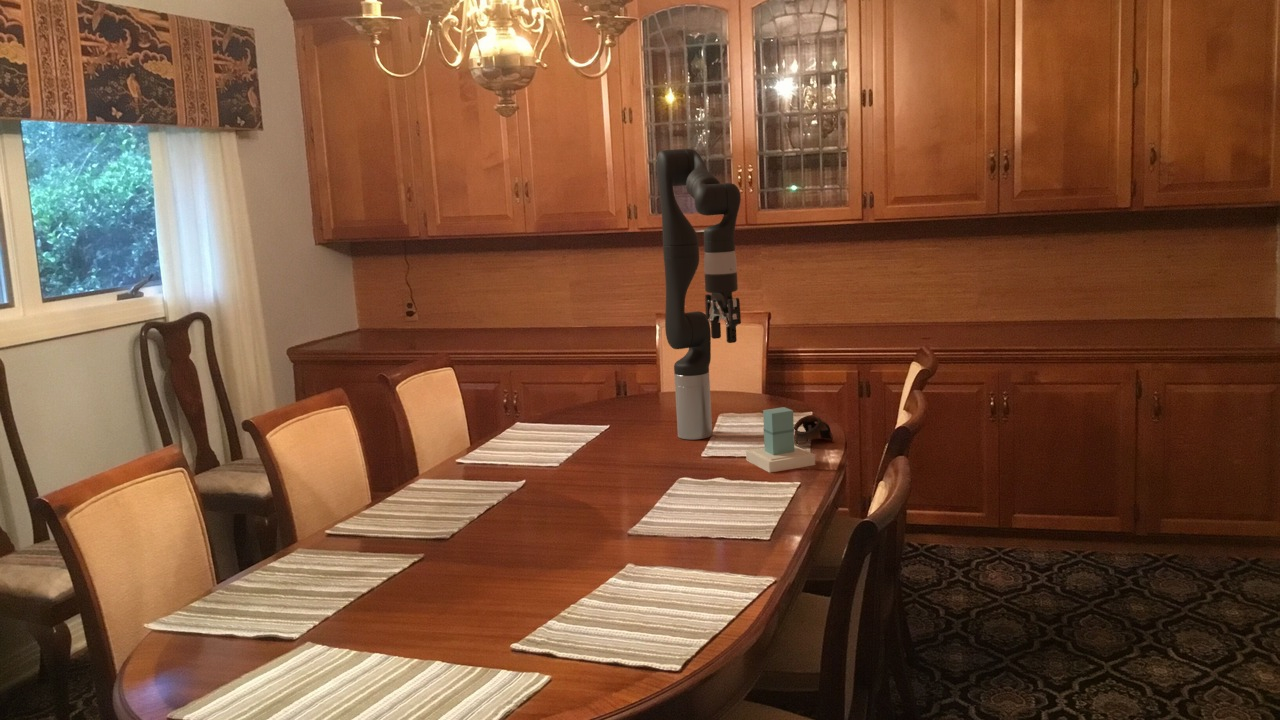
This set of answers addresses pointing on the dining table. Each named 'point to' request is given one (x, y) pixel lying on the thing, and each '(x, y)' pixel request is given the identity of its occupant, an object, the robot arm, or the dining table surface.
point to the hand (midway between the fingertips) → (723, 340)
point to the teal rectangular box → (778, 430)
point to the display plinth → (780, 459)
